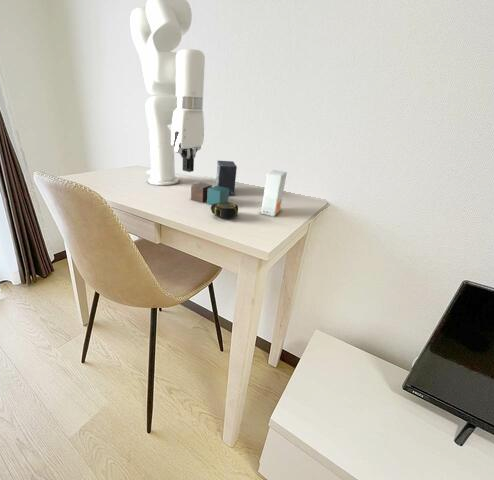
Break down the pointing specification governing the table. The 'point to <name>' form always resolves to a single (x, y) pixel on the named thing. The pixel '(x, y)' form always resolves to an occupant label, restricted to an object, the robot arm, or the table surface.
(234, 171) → the small box
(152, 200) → the table surface
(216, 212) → the tape measure
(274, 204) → the cosmetic box
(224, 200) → the teal block
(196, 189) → the walnut block
